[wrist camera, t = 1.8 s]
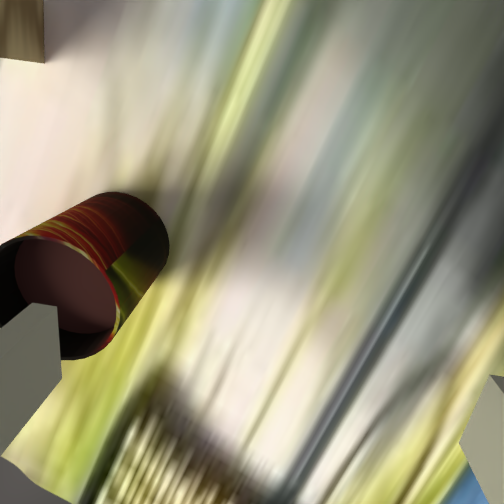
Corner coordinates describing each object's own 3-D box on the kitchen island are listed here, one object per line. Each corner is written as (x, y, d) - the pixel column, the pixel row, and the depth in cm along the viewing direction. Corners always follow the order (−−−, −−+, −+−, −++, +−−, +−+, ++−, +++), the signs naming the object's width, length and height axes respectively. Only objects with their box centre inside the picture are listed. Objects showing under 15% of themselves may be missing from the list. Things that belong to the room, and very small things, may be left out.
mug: (20, 241, 38) (-88, 301, 27) (129, 172, 35) (56, 207, 24) (82, 316, 41) (6, 398, 30) (188, 259, 38) (148, 327, 27)
